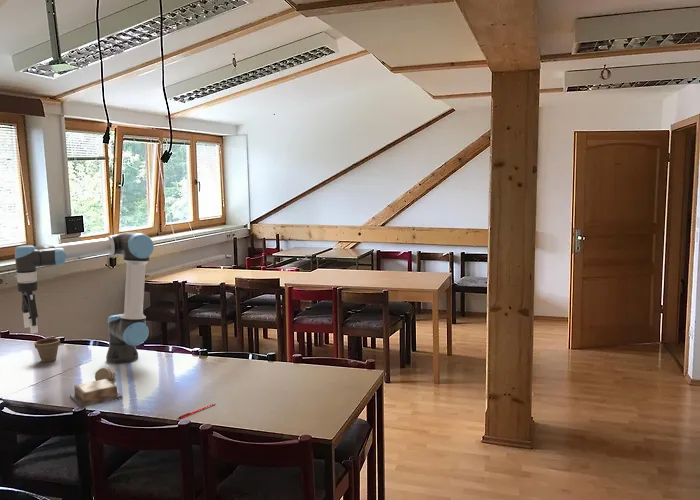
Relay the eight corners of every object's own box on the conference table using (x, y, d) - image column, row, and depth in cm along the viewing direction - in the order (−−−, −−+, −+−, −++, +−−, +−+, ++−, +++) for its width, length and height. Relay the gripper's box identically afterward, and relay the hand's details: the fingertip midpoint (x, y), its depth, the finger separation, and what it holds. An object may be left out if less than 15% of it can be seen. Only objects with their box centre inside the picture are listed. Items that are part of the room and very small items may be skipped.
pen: (176, 420, 222) (176, 417, 222) (215, 404, 237) (215, 402, 237) (177, 420, 221) (177, 418, 221) (216, 405, 237) (216, 402, 237)
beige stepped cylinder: (121, 378, 271) (118, 363, 265) (107, 393, 264) (104, 378, 258) (107, 373, 273) (104, 358, 267) (93, 388, 265) (90, 373, 259)
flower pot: (36, 365, 291) (34, 345, 290) (35, 359, 301) (33, 340, 300) (62, 361, 297) (60, 341, 296) (60, 356, 307) (59, 336, 306)
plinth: (109, 388, 257) (109, 376, 256) (122, 398, 245) (121, 386, 244) (70, 396, 247) (69, 384, 246) (81, 407, 235) (80, 395, 234)
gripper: (12, 279, 262) (15, 326, 264) (23, 286, 242) (27, 337, 245) (30, 277, 267) (34, 323, 269) (43, 284, 247) (47, 334, 250)
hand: (31, 330), depth 257 cm, fingers open, 13 cm apart
